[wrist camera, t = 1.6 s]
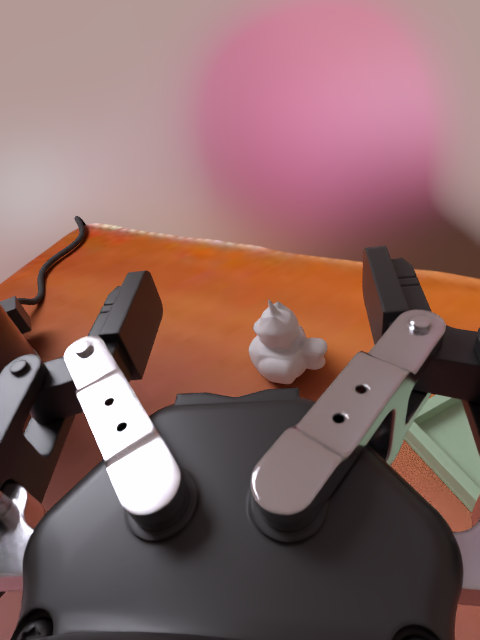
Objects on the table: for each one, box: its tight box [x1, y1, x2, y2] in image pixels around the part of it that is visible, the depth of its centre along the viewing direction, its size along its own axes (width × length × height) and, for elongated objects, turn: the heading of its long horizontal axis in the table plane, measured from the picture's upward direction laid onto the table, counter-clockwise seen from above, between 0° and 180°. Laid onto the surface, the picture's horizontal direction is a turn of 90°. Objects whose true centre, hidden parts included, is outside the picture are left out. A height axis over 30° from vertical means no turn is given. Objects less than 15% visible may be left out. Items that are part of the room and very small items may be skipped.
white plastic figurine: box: [249, 300, 327, 384], centre depth 33 cm, size 5×7×8 cm
